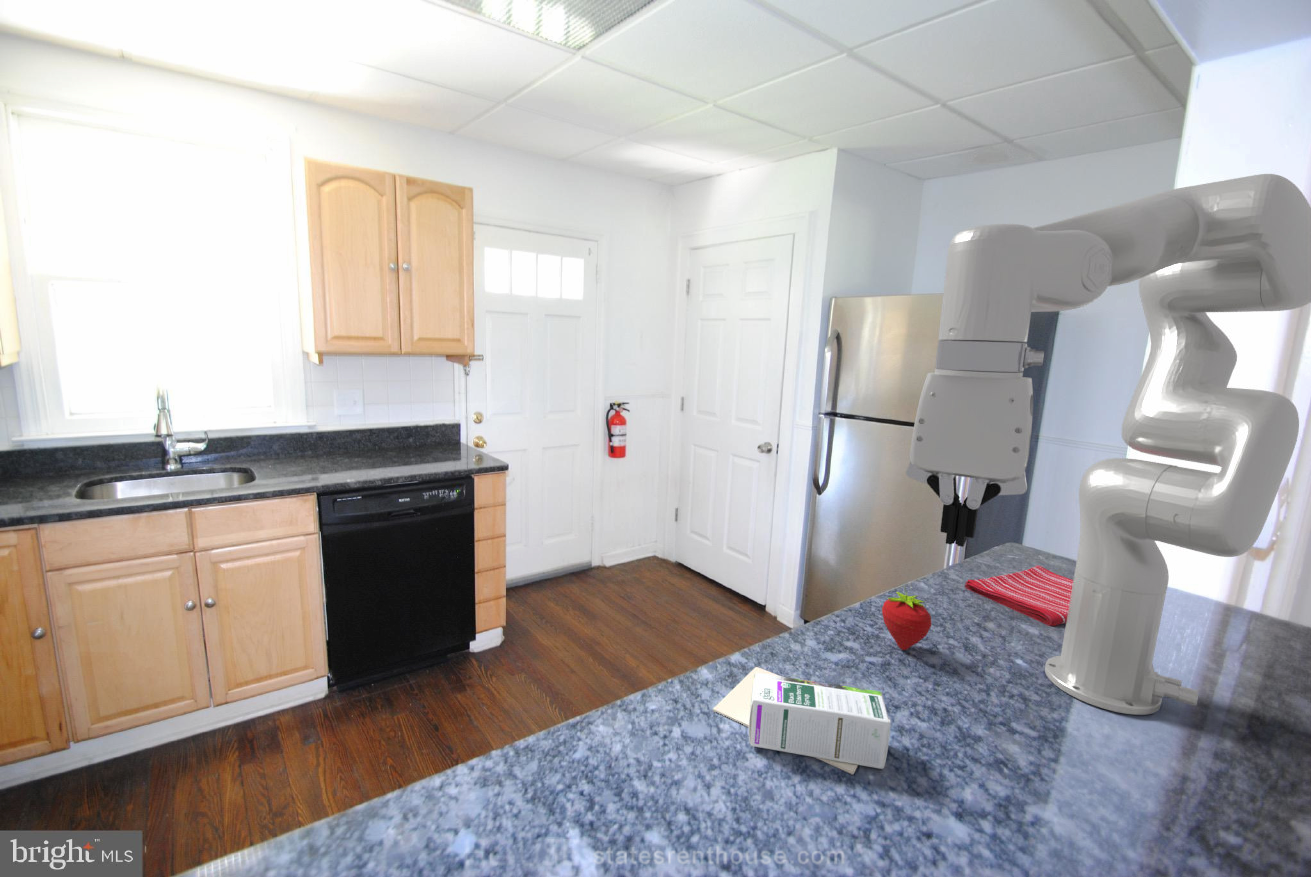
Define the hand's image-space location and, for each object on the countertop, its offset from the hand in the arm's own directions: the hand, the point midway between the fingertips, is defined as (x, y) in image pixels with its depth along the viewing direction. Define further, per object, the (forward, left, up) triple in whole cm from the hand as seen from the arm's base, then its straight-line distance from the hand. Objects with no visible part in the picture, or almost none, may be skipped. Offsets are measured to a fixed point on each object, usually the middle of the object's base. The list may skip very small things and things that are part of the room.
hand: (956, 541), depth 59 cm
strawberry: (+8, -24, -25) cm, 36 cm away
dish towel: (-9, -62, -26) cm, 68 cm away
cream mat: (+14, +1, -25) cm, 29 cm away
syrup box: (+4, +2, -22) cm, 23 cm away
